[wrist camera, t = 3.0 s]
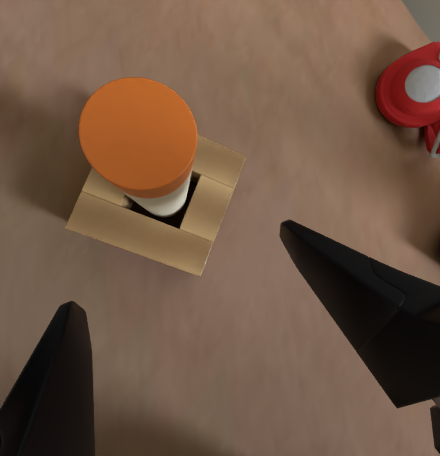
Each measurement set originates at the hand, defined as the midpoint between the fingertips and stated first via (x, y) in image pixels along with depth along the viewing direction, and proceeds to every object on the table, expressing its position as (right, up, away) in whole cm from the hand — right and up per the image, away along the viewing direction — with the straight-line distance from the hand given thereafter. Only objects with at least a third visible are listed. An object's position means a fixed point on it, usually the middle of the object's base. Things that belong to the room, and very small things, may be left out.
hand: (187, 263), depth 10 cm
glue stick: (-4, +4, +12) cm, 13 cm away
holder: (-4, +4, +12) cm, 13 cm away
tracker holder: (+24, +15, +17) cm, 33 cm away
